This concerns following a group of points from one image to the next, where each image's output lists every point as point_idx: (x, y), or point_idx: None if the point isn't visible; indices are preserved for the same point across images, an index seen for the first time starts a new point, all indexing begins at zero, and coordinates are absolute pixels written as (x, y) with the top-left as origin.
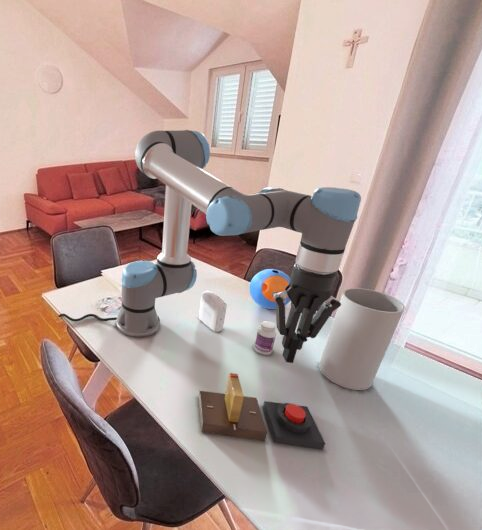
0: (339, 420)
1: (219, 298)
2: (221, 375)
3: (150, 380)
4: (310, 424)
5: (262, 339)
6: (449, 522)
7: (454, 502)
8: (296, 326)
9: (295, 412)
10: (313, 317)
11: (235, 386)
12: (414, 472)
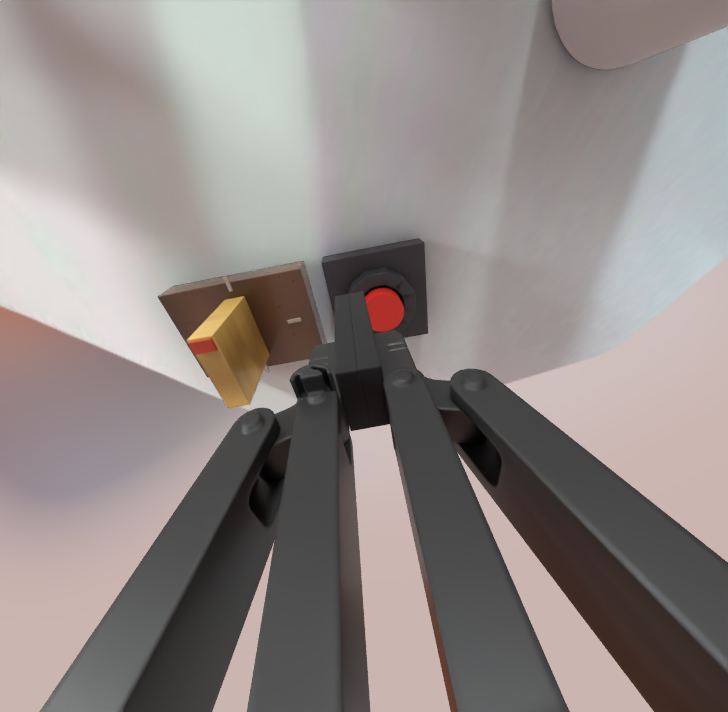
0: (490, 233)
1: None
2: (191, 155)
3: (21, 265)
4: (409, 321)
5: None
6: (541, 372)
7: (573, 344)
8: (356, 527)
9: (381, 318)
10: (561, 496)
11: (221, 382)
12: (555, 315)
